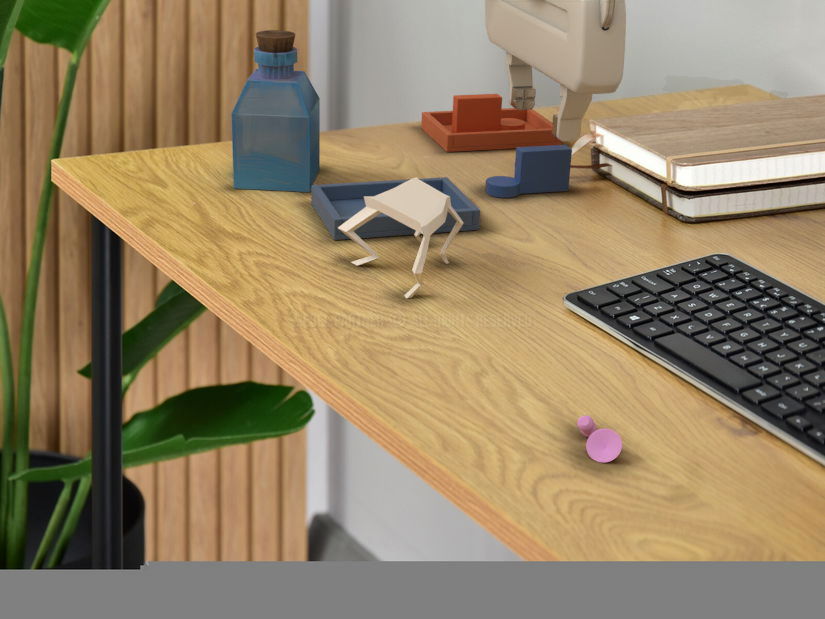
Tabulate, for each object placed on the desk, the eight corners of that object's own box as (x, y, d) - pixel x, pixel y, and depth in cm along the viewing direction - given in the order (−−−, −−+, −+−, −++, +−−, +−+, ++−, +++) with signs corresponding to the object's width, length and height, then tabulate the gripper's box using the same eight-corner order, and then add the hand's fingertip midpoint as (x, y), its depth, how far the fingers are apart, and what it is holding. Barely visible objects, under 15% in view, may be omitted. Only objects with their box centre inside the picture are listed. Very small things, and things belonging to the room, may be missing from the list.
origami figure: (326, 246, 86) (326, 180, 84) (436, 236, 89) (439, 172, 87) (374, 312, 76) (376, 239, 74) (497, 299, 79) (502, 228, 77)
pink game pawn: (606, 479, 62) (634, 458, 62) (600, 469, 60) (629, 447, 60) (571, 436, 63) (599, 415, 63) (565, 426, 62) (593, 404, 62)
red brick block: (458, 138, 112) (460, 100, 110) (449, 130, 114) (450, 93, 113) (528, 135, 114) (531, 97, 112) (518, 127, 116) (520, 90, 115)
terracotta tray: (529, 123, 119) (530, 107, 119) (561, 146, 112) (562, 129, 111) (421, 128, 116) (421, 111, 116) (446, 152, 109) (447, 135, 108)
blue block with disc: (558, 183, 102) (562, 142, 100) (572, 193, 99) (575, 151, 98) (480, 188, 100) (483, 146, 98) (492, 198, 97) (494, 156, 96)
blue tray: (446, 195, 98) (447, 176, 97) (479, 230, 91) (480, 209, 90) (311, 204, 95) (311, 184, 94) (334, 240, 88) (334, 219, 87)
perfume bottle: (319, 169, 103) (319, 28, 98) (309, 192, 97) (308, 43, 93) (248, 165, 103) (244, 25, 99) (233, 188, 98) (229, 39, 93)
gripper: (658, -34, 84) (634, 158, 89) (546, -70, 101) (532, 92, 107) (574, -34, 82) (555, 161, 87) (475, -71, 100) (465, 93, 105)
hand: (542, 122), depth 97 cm, fingers open, 8 cm apart
